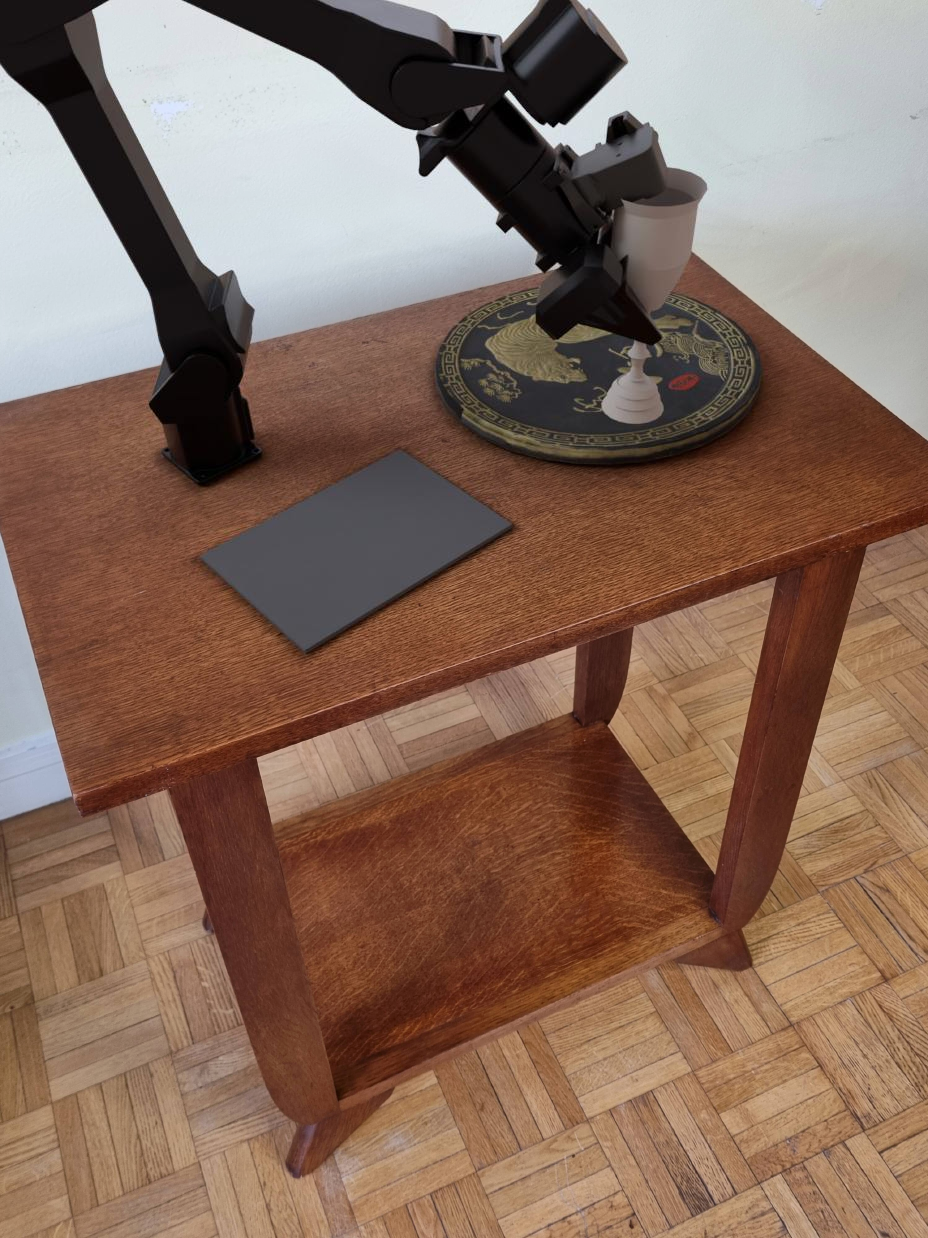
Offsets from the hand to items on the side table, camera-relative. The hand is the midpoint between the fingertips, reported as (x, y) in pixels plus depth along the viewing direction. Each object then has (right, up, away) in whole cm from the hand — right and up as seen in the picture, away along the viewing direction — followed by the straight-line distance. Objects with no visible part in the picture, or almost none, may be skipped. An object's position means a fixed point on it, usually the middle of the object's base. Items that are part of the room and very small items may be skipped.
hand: (658, 322), depth 84 cm
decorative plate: (-3, 0, +18) cm, 18 cm away
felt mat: (-23, -17, +1) cm, 29 cm away
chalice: (-1, -6, +5) cm, 8 cm away
